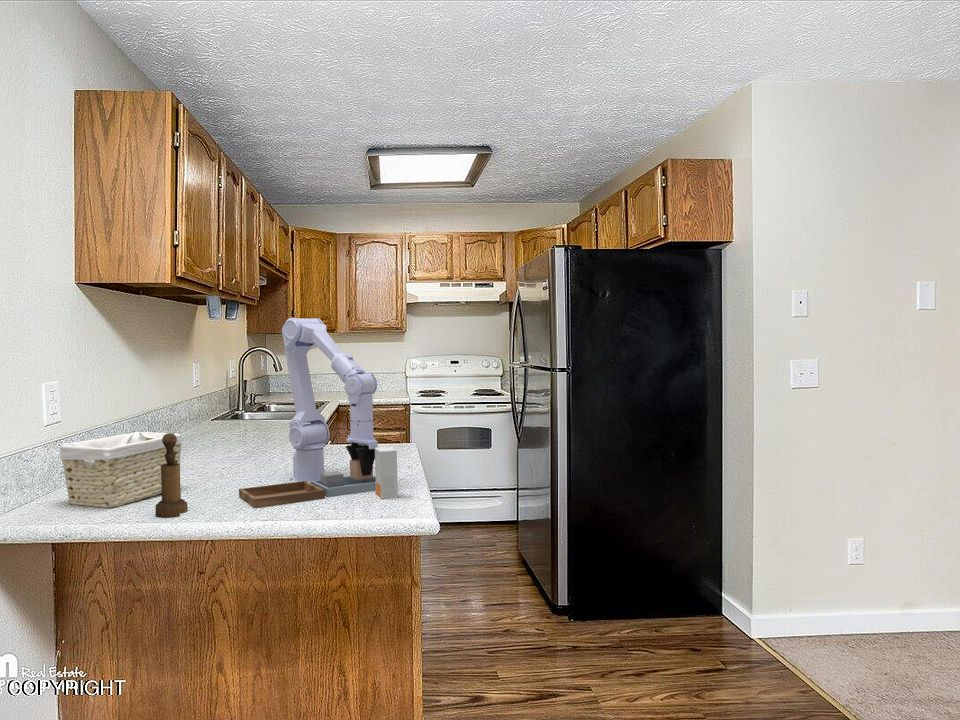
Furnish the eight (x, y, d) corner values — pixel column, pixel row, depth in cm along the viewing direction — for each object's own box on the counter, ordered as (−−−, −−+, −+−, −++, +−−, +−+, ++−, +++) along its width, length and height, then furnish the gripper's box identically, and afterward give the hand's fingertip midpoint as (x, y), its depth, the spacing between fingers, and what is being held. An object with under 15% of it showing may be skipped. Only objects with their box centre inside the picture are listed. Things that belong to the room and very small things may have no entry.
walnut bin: (239, 499, 175) (238, 489, 175) (305, 490, 184) (305, 480, 184) (254, 510, 164) (254, 499, 164) (325, 500, 173) (324, 490, 173)
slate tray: (310, 490, 184) (310, 480, 184) (367, 483, 192) (367, 473, 192) (327, 499, 174) (326, 488, 174) (386, 490, 183) (386, 481, 183)
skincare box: (375, 496, 177) (374, 447, 176) (392, 494, 178) (391, 446, 178) (380, 501, 171) (379, 451, 171) (398, 499, 173) (397, 449, 172)
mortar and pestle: (192, 510, 165) (189, 431, 165) (181, 517, 159) (179, 435, 158) (162, 510, 165) (160, 432, 164) (150, 518, 158) (148, 436, 158)
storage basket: (108, 511, 166) (105, 447, 165) (57, 505, 172) (55, 443, 171) (186, 489, 188) (184, 433, 187) (139, 485, 194) (137, 430, 193)
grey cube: (320, 490, 182) (320, 473, 182) (337, 488, 184) (337, 471, 184) (326, 493, 178) (326, 476, 178) (343, 491, 180) (343, 473, 180)
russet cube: (350, 477, 186) (349, 460, 186) (366, 475, 188) (365, 458, 188) (356, 480, 182) (356, 462, 182) (373, 477, 184) (372, 460, 184)
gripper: (336, 419, 189) (337, 471, 189) (358, 424, 177) (359, 480, 177) (361, 417, 193) (362, 468, 193) (384, 422, 180) (385, 476, 181)
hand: (362, 473), depth 185 cm, fingers closed on russet cube, 4 cm apart
